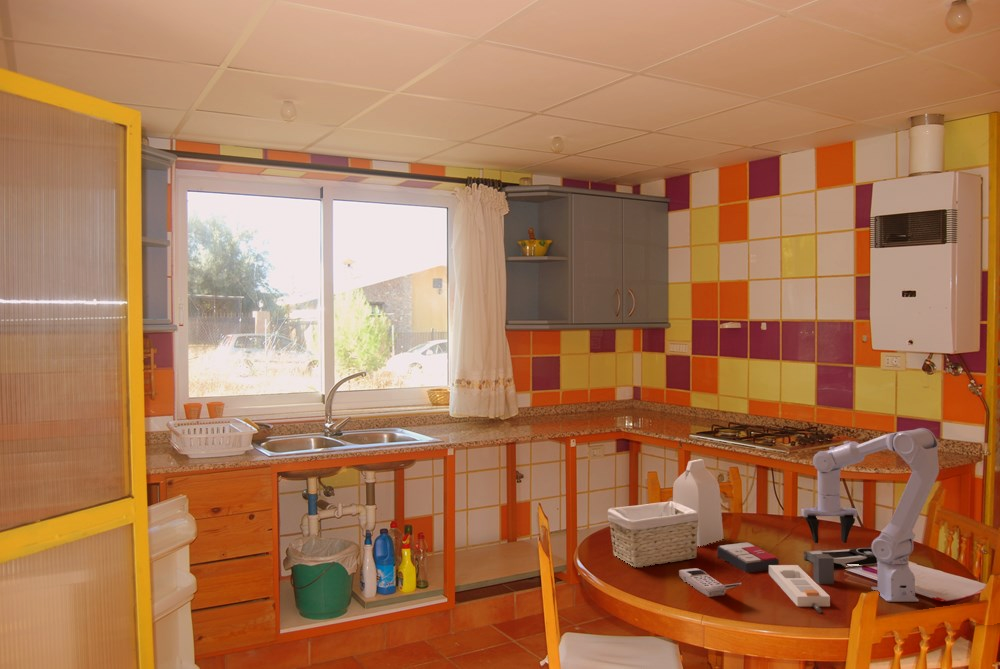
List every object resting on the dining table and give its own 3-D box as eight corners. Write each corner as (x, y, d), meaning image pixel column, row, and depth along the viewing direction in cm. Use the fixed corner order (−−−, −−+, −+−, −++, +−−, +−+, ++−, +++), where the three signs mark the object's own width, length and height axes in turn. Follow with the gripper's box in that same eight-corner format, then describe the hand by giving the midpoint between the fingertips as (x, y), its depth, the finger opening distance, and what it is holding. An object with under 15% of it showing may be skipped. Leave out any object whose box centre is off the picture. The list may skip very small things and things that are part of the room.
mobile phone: (722, 585, 189) (673, 555, 213) (722, 609, 190) (673, 576, 214) (743, 583, 191) (692, 553, 215) (743, 606, 191) (692, 574, 215)
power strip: (837, 613, 184) (836, 600, 184) (803, 613, 185) (803, 600, 185) (797, 573, 213) (797, 562, 213) (768, 574, 213) (768, 562, 213)
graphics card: (803, 550, 224) (878, 544, 229) (803, 561, 225) (879, 555, 229) (823, 561, 215) (901, 554, 219) (823, 573, 215) (902, 566, 219)
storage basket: (631, 570, 219) (630, 520, 219) (606, 554, 235) (605, 507, 234) (702, 560, 227) (701, 511, 226) (673, 545, 242) (672, 499, 242)
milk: (699, 546, 240) (698, 465, 239) (671, 538, 249) (670, 460, 248) (723, 539, 247) (722, 460, 246) (695, 532, 256) (694, 455, 256)
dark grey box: (746, 561, 215) (716, 543, 229) (746, 576, 215) (716, 557, 229) (779, 557, 218) (748, 540, 232) (779, 571, 218) (747, 553, 232)
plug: (833, 583, 204) (833, 558, 204) (818, 584, 205) (818, 558, 204) (827, 577, 209) (826, 552, 209) (812, 577, 209) (812, 552, 209)
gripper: (850, 490, 214) (851, 537, 214) (797, 490, 215) (798, 537, 215) (860, 495, 206) (861, 545, 207) (805, 496, 208) (806, 545, 208)
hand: (829, 542), depth 210 cm, fingers open, 7 cm apart
